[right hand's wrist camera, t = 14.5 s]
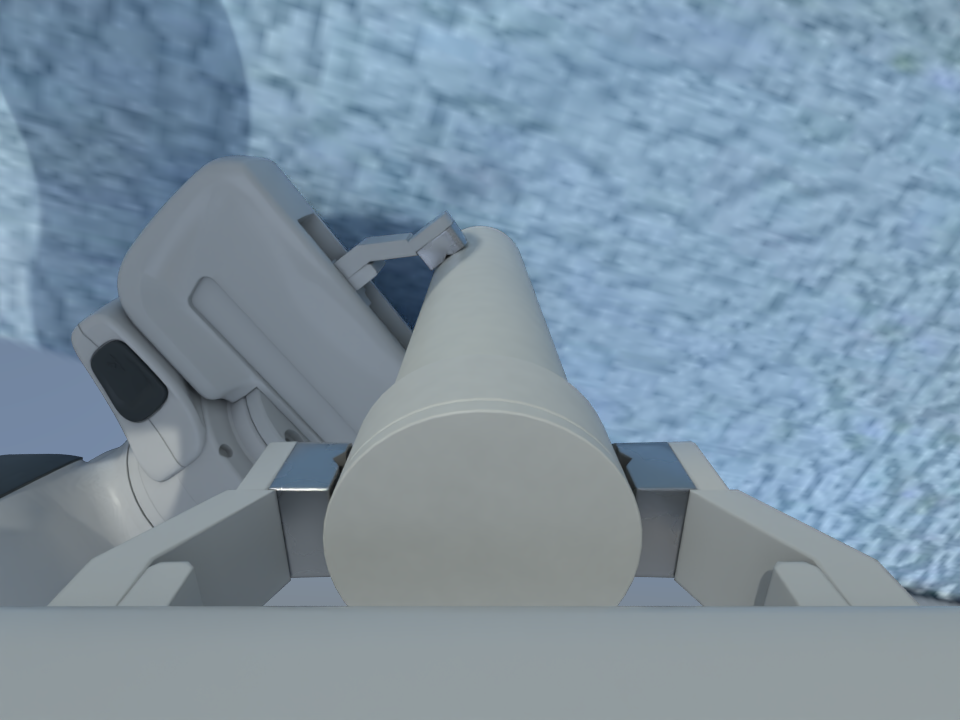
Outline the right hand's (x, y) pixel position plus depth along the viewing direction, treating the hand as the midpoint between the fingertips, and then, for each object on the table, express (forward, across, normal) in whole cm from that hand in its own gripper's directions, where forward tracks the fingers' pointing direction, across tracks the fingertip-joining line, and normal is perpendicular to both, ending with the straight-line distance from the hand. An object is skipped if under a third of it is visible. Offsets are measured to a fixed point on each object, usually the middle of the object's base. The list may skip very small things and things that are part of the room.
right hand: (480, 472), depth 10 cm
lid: (-2, 0, 0) cm, 2 cm away
